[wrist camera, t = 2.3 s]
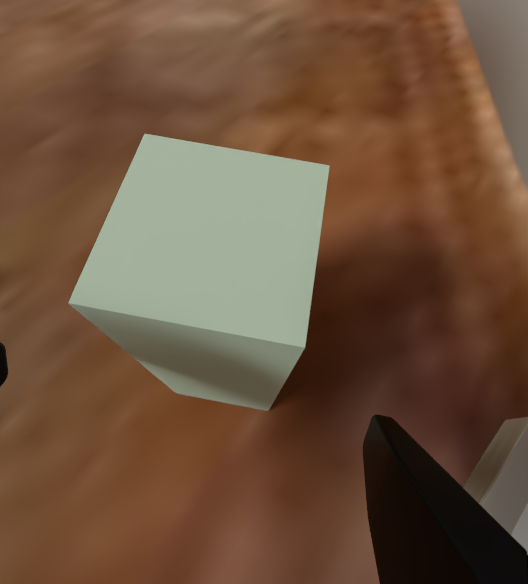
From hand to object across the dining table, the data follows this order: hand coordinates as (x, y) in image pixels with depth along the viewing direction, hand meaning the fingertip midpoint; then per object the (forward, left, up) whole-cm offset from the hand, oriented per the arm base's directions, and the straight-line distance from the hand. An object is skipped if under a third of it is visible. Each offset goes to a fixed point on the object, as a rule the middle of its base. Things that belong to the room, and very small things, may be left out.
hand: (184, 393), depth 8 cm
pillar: (+3, +2, -11) cm, 11 cm away
